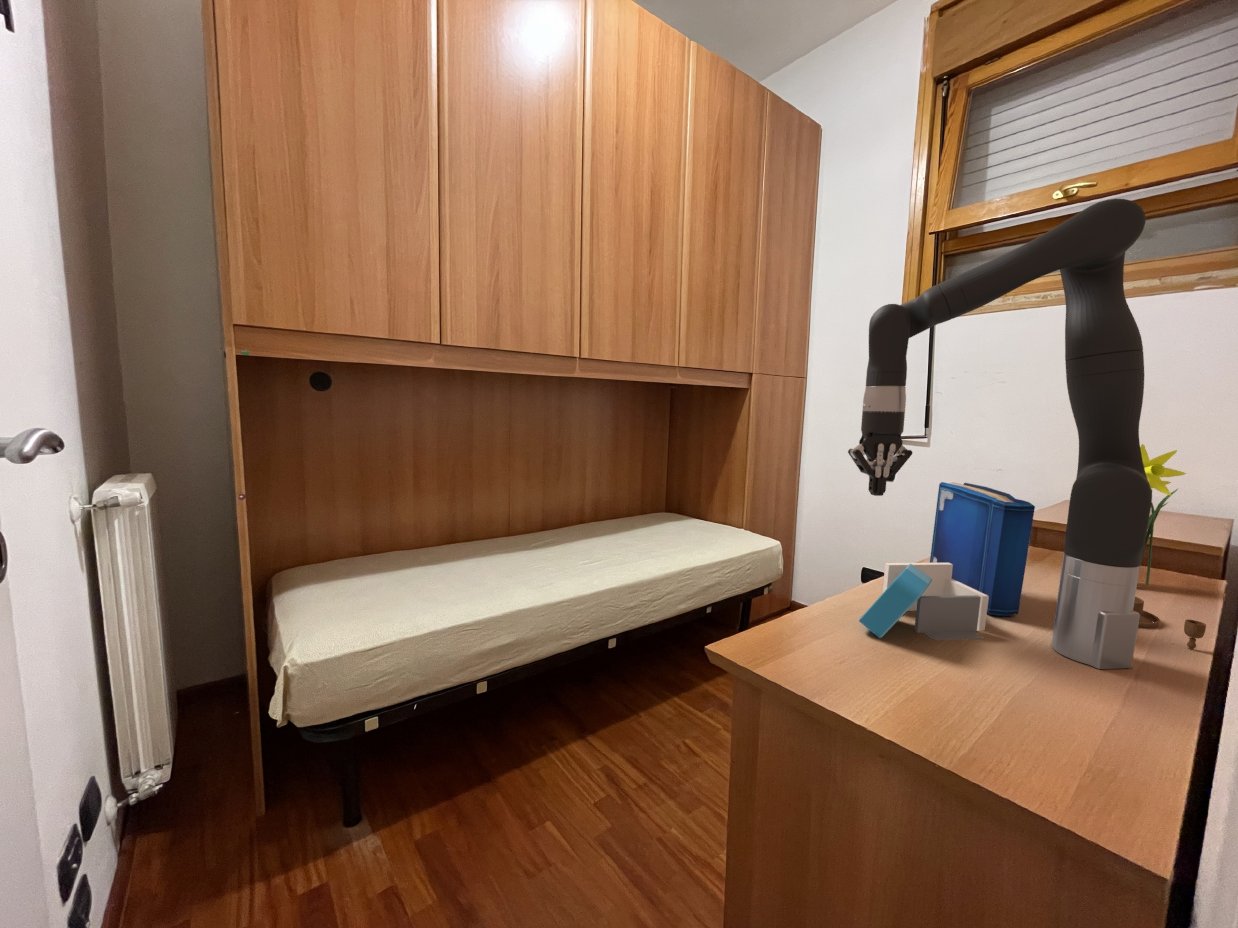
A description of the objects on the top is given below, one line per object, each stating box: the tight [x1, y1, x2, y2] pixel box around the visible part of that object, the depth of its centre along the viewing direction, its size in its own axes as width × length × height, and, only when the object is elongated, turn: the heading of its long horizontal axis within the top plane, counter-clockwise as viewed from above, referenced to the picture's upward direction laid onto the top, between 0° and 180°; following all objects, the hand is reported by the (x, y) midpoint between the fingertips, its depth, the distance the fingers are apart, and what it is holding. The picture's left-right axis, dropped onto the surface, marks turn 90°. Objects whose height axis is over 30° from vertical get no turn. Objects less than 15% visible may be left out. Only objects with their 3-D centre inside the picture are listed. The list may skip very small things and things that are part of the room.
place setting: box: [1133, 596, 1207, 651], centre depth 98 cm, size 18×20×6 cm
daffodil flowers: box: [1138, 443, 1187, 586], centre depth 119 cm, size 17×15×35 cm
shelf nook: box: [882, 562, 989, 641], centre depth 96 cm, size 14×14×10 cm
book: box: [929, 481, 1036, 617], centre depth 108 cm, size 22×7×25 cm, turn 179°
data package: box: [858, 564, 932, 639], centre depth 92 cm, size 12×4×12 cm, turn 139°
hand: (876, 494), depth 100 cm, fingers closed
